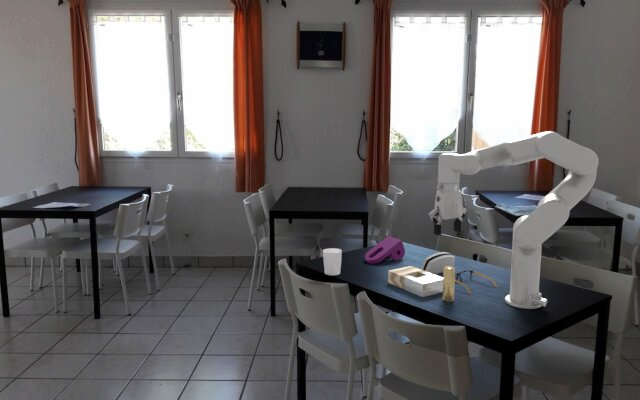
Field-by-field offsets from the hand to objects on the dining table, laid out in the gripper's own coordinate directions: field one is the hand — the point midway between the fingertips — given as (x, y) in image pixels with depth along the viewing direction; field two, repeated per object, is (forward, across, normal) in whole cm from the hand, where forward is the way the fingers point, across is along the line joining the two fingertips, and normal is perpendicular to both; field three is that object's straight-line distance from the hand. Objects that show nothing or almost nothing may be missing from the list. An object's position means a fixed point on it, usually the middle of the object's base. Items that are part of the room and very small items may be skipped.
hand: (447, 233), depth 192 cm
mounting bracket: (+24, +7, +50) cm, 55 cm away
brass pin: (+24, -3, -5) cm, 24 cm away
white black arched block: (+24, +15, +22) cm, 36 cm away
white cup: (+23, -23, +44) cm, 55 cm away
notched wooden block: (+23, -4, +17) cm, 29 cm away
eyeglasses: (+24, +15, +3) cm, 29 cm away
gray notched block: (+23, -4, +7) cm, 25 cm away
